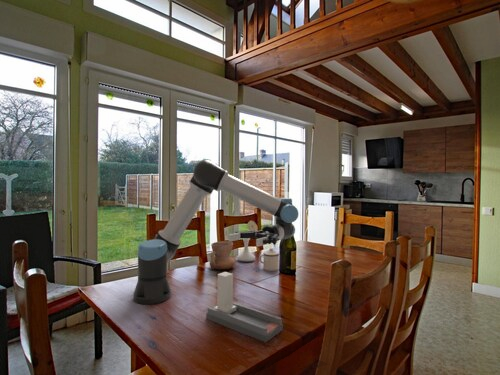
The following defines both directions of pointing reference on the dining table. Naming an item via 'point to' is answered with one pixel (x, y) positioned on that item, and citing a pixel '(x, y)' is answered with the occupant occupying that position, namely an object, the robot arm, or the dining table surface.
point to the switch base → (248, 321)
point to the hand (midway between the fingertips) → (242, 240)
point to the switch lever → (225, 293)
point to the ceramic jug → (222, 255)
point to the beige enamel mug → (270, 260)
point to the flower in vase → (246, 254)
